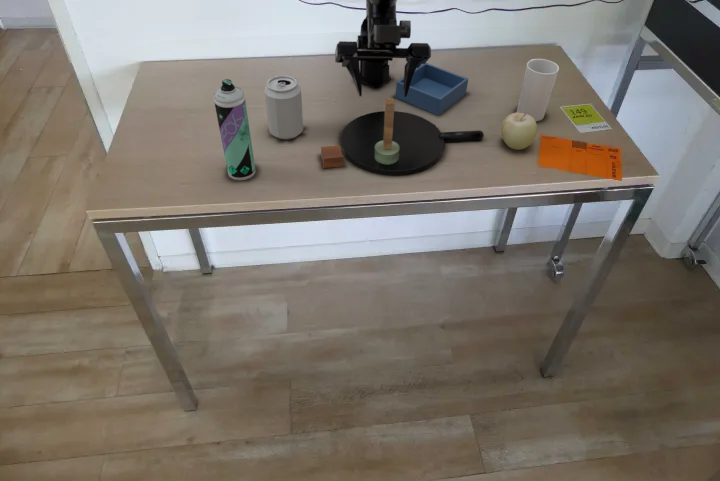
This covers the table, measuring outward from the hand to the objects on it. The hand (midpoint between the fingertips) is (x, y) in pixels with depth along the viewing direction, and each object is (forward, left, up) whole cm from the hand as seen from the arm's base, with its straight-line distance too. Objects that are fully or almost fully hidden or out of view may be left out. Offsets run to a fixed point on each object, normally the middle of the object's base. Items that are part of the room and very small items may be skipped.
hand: (383, 96), depth 113 cm
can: (-18, -10, -11) cm, 23 cm away
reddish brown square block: (-3, -12, -11) cm, 17 cm away
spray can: (-15, -26, -11) cm, 32 cm away
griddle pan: (+6, +4, -11) cm, 13 cm away
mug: (+19, +32, -11) cm, 38 cm away
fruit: (+23, +18, -11) cm, 31 cm away
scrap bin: (-2, +23, -11) cm, 25 cm away
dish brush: (+5, -5, -10) cm, 12 cm away
